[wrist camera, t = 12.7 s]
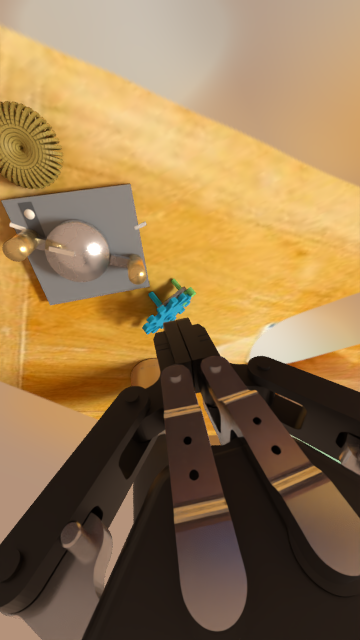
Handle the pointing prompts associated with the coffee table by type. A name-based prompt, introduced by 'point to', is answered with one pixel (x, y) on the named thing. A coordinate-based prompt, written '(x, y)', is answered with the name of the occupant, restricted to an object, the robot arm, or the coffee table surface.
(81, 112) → the coffee table surface
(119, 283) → the board
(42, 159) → the sculpture
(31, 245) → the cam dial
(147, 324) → the gear
